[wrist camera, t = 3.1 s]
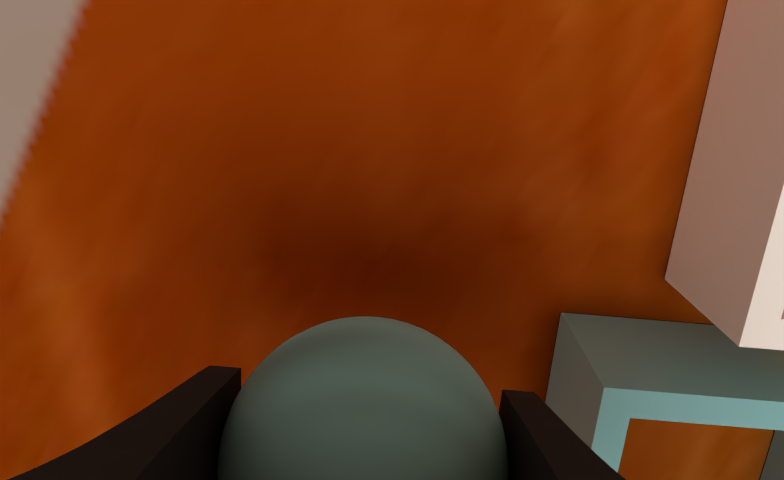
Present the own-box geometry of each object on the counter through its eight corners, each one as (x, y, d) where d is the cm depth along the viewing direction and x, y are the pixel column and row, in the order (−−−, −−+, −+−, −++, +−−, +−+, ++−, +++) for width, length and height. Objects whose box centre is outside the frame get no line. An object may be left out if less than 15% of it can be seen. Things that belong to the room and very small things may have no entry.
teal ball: (474, 490, 14) (508, 720, 9) (255, 472, 14) (176, 692, 9) (503, 286, 12) (562, 433, 8) (258, 266, 12) (164, 401, 8)
